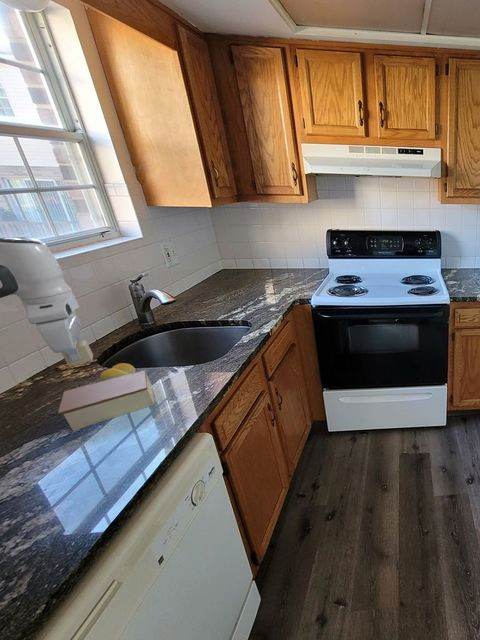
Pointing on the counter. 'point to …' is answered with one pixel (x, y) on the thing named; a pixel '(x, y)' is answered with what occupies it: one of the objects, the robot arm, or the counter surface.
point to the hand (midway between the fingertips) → (78, 355)
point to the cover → (102, 391)
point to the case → (110, 408)
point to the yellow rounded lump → (117, 371)
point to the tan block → (84, 351)
